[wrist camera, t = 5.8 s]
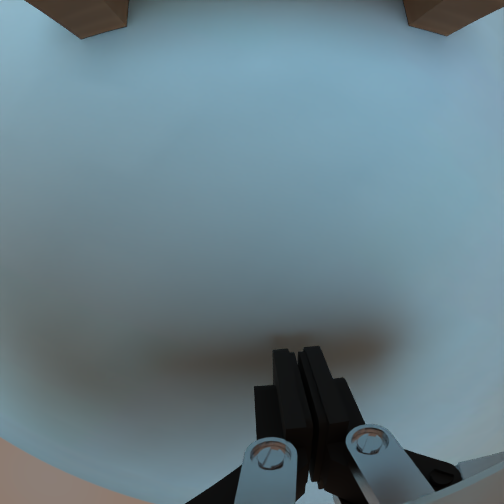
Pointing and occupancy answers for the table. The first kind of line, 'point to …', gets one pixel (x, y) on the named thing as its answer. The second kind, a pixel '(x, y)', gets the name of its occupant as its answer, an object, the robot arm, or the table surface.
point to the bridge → (116, 3)
